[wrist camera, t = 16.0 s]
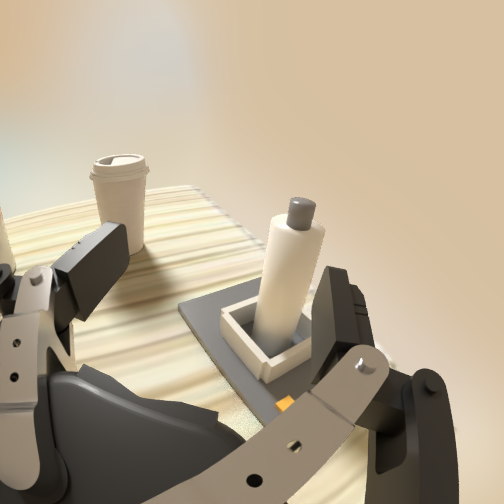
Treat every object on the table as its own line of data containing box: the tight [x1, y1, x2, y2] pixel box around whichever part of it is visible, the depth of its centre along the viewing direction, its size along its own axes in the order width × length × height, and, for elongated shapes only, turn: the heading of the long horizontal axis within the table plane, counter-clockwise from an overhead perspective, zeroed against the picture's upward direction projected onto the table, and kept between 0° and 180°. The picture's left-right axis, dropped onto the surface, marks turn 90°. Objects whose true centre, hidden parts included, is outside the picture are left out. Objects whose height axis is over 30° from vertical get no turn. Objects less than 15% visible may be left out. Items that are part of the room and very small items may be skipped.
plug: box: [251, 197, 325, 357], centre depth 25 cm, size 4×4×16 cm
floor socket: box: [178, 277, 316, 427], centre depth 28 cm, size 20×13×4 cm, turn 36°
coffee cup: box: [90, 154, 149, 255], centre depth 39 cm, size 10×10×15 cm
